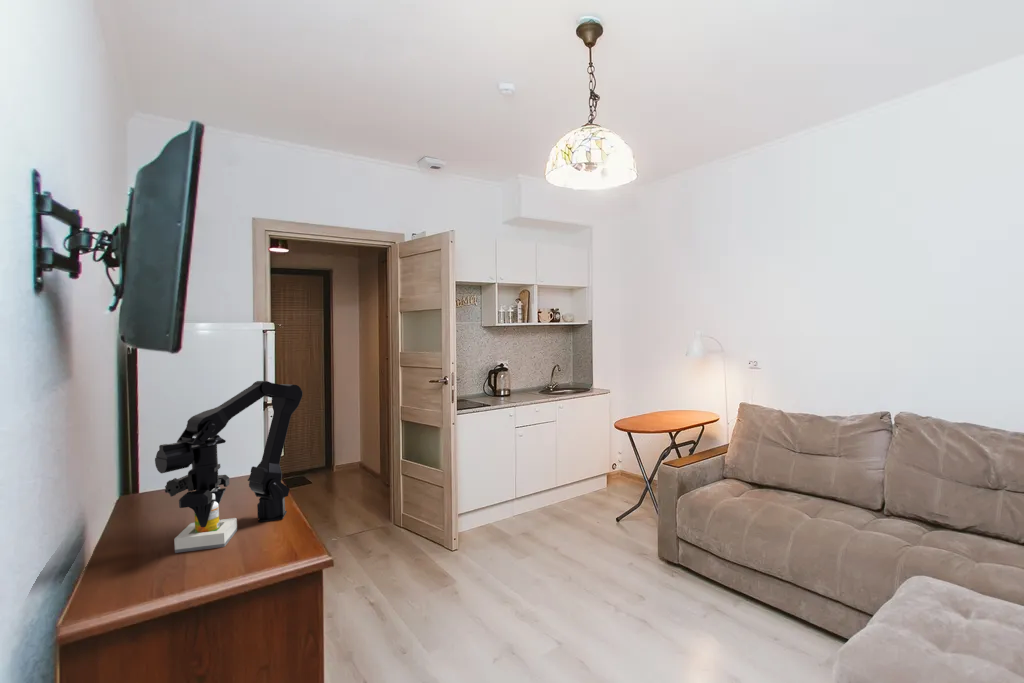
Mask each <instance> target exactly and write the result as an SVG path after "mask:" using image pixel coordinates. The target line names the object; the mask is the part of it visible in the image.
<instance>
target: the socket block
mask: <svg viewBox="0 0 1024 683" xmlns="http://www.w3.org/2000/svg"><path fill="white" fill-rule="evenodd" d="M237 531H238V520H237V517H230V518H224V519H219V529H218V530H217V531H211V532H203V533H195V522H190V523H189V524H188V525H186V527H185V528H184V529H183V530H182V531H181V532H180V533H179V534H178V535H177V536H176V537H174V554H177V553H186V552H194V551H201V550H209V549H217V548H225V547H226V545H227V544H228V543H229V542H230V541H231V540H232V538H233V537H234V535H235V534H236V533H237Z"/></svg>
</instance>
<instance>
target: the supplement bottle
mask: <svg viewBox="0 0 1024 683" xmlns="http://www.w3.org/2000/svg"><path fill="white" fill-rule="evenodd" d="M212 499H215V494H214V493H212ZM219 507H220V504H219V505H218V503H217V502H215V501H214V504H213V507H212V510H211V513H210V516H209V519H208V522H207V525H206V527H201V526H200V524H199V521H198V519H197V517H196V514H195V513H194V523H195V533H203V532H211V531H217V530H218V529H219V520H220V510H219V509H220V508H219Z"/></svg>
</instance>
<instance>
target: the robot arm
mask: <svg viewBox="0 0 1024 683" xmlns="http://www.w3.org/2000/svg"><path fill="white" fill-rule="evenodd" d="M263 397H268V398H271V407H272V411H273V414H272V417H271V418H272V419H271V422H270V427H269V430H268V435H267V438H266V442H265V446H264V450H263V454H262V459H261V461H260V462H259V463H258V465H257V466H251V468H250V475H249V477H248V479H247V481H248V487H249V488H250V490H251V491H252V492H253V493H254V496H256V497H257V498H259V500H258V503H257V519H258V520H257V521H258V523H263V522H264V523H265V522H272V521H281V520H283V519H284V518H285V516H286V514H287V510H286V499H285V498H286V497H289V493H290V488H289V487H288V485H287V486H286V485H285V484H284V483H283V482H282V479H283V478H282V477H283V473H282V468H281V465H280V462H281V458H282V455H283V451H284V447H285V444H286V443H285V442H286V437H287V434H288V430H289V426H290V421H291V418H292V415H293V414H294V412H295V411H296V410H297V409H298V408H299V405H300V403H301V401H302V398H303V390H302V389H301V387H300V386H299V385H298V384H288V383H287V384H283V383H280V384H278V383H273V382H270V381H269V380H257V381H255V382H253V383H252V384H251V385H250V386H248V387H247V388H245V389H243V390H242V391H241V392H239V393H238V394H236V395H234V396H233V397H231V398H229V399H228V400H226V401H225V402H223V403H222V404H220V405H218V406H217V407H214V408H211V409H207V410H204V411H202V412H199V413H197V414H194V415H193V416H191V417H190V418H189V419H188V420H187V424H186V427H185V429H184V430H183V432H182V433H181V435H180V436H179V437H178V439H177V441H176V442H174V443H165V444H164V443H163V444H160V445H159V450H157V452H156V455H155V457H154V464H155V467H156V470H157V471H158V472H159V473H160V474H166V473H170V472H174V471H178V470H183V469H186V468H187V469H188V468H189V467H190V466H191V469H190V470H189V471H188V472H187V475H184V476H181V477H179V478H177V477H174V478H173V479H170V480H168V481H167V482H166V485H165V486H164V488H165V490H164V493H166V494H167V493H168V494H169V496H170V497H175V496H176V495H177V494H180V493H181V492H183V491H186V490H187V492H186V493H185V494H183V495H182V496H181V497H180V498H179V500H178V506H179V508H180V509H183V508H189V509H192V510H193V512H194V515H195V514H196V517H197V519H198V521H199V524H200V526H201V527H206V525H207V522H208V519H209V516H210V513H211V510H212V507H213V504H214V501H215V502H217V503H218V505H219V506H220V504H221V501H222V498H223V496H224V494H225V492H226V490H227V488H228V486H229V485H230V477H229V476H228V475H227V474H219V469H221V463H219V461H218V460H219V459H218V445H220V444H225V443H226V441H227V440H226V439H224V438H223V437H221V436H220V435H219V433H220V432H221V431H222V430H224V429H225V428H226V426H227V425H228V424H229V422H230V421H231V420H232V419H233V418H234V417H235V416H237V415H238V414H240V413H242V412H243V411H245V410H246V409H248V408H249V407H250V406H252V405H253V404H255V403H256V402H258V401H260V400H261V399H262V398H263ZM222 485H223V487H225V488H221V486H222ZM226 487H227V488H226ZM212 493H214V494H215V499H212Z"/></svg>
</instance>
